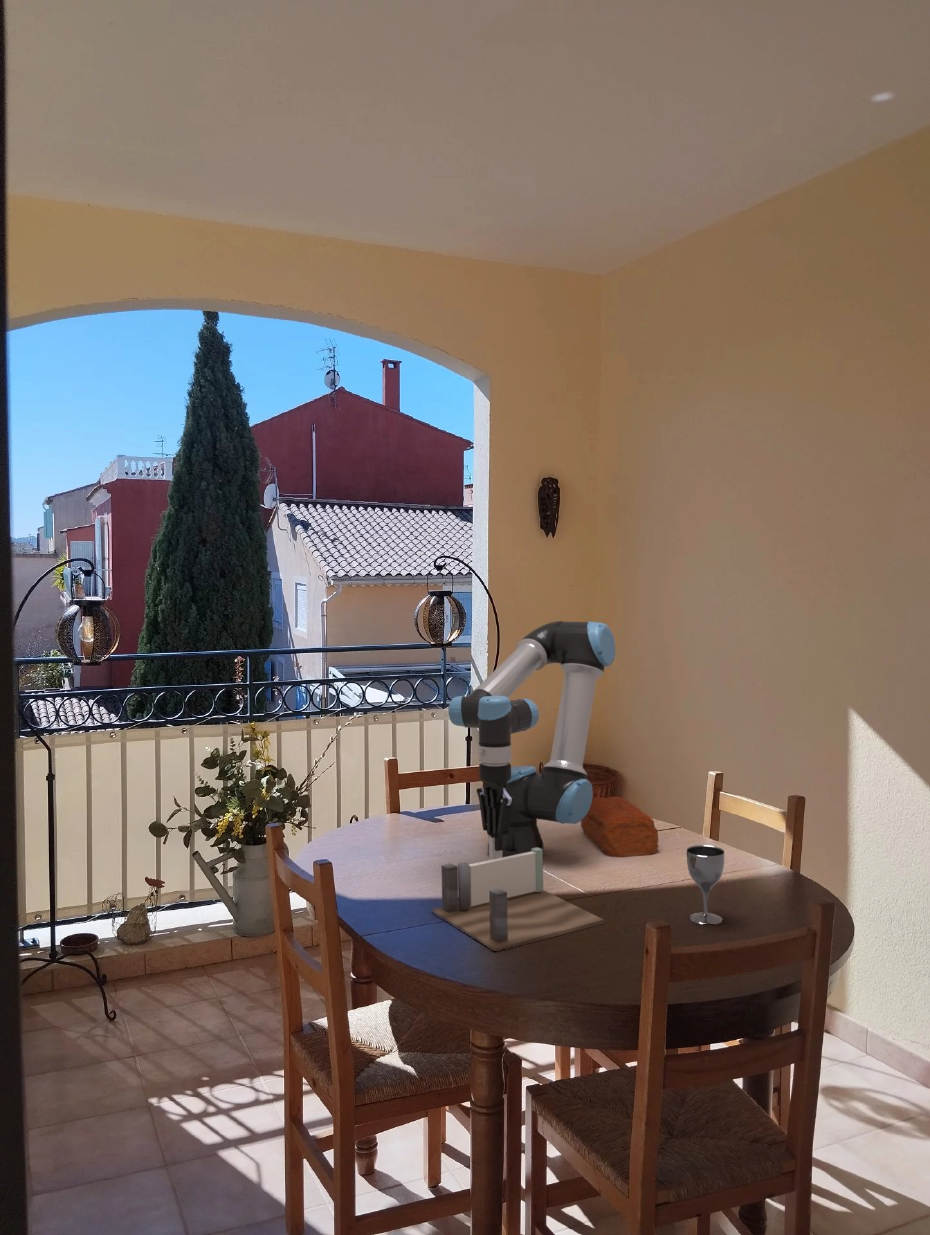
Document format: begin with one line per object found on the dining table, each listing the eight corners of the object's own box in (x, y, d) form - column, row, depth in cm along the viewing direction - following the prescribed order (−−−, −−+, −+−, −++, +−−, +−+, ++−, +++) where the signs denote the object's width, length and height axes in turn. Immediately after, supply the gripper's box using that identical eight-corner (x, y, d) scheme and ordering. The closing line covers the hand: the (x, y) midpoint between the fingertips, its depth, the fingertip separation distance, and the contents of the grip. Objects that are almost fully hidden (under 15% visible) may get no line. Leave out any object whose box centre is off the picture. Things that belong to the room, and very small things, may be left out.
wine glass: (725, 914, 209) (725, 846, 208) (723, 927, 201) (723, 857, 201) (688, 910, 212) (688, 844, 211) (685, 923, 204) (684, 854, 203)
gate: (462, 911, 211) (461, 866, 210) (456, 908, 213) (455, 863, 212) (543, 892, 222) (543, 849, 222) (537, 889, 224) (537, 847, 224)
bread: (628, 828, 279) (628, 792, 278) (662, 855, 253) (662, 815, 252) (577, 831, 276) (577, 795, 276) (606, 859, 250) (606, 819, 249)
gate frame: (432, 913, 213) (431, 865, 212) (534, 889, 227) (534, 844, 227) (494, 952, 191) (493, 899, 190) (604, 923, 205) (603, 874, 204)
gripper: (466, 760, 225) (467, 858, 226) (496, 769, 214) (497, 873, 215) (493, 756, 229) (494, 853, 230) (524, 765, 217) (524, 867, 218)
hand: (495, 863), depth 222 cm, fingers closed
